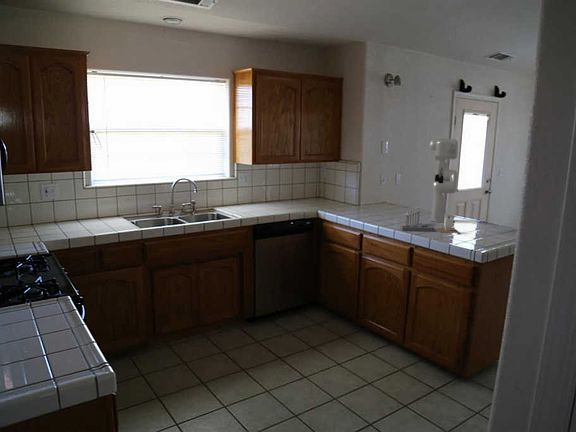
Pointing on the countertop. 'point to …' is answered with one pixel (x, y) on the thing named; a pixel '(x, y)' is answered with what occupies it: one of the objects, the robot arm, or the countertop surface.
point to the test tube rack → (413, 216)
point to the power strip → (417, 228)
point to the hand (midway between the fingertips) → (438, 182)
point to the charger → (448, 223)
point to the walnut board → (448, 231)
